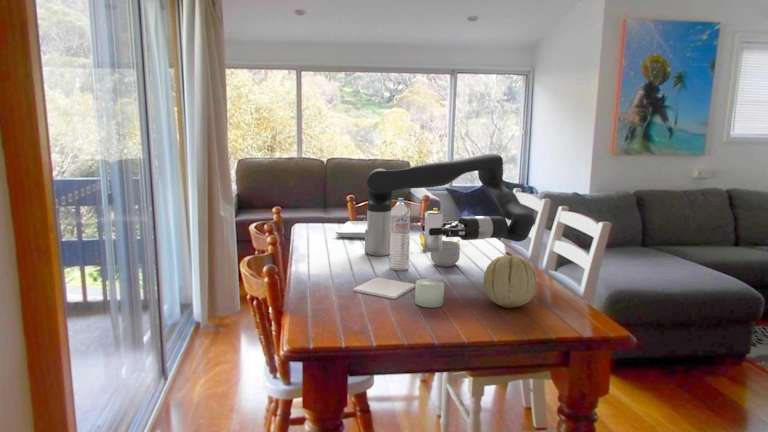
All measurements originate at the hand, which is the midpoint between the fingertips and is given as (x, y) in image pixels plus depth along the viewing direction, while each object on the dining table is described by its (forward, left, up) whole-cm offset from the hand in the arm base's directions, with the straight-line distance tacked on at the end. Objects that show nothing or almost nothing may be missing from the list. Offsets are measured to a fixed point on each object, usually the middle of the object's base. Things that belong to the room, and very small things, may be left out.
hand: (426, 230), depth 159 cm
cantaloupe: (+28, -5, -18) cm, 34 cm away
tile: (-9, -10, -18) cm, 22 cm away
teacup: (-5, +28, -18) cm, 33 cm away
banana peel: (-17, +51, -18) cm, 57 cm away
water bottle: (-16, +13, -18) cm, 27 cm away
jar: (+8, -15, -18) cm, 25 cm away
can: (+2, +2, -7) cm, 7 cm away
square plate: (-55, +59, -18) cm, 82 cm away
